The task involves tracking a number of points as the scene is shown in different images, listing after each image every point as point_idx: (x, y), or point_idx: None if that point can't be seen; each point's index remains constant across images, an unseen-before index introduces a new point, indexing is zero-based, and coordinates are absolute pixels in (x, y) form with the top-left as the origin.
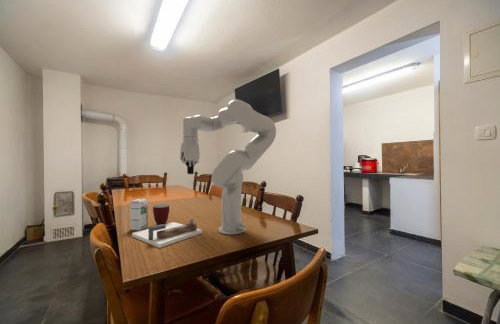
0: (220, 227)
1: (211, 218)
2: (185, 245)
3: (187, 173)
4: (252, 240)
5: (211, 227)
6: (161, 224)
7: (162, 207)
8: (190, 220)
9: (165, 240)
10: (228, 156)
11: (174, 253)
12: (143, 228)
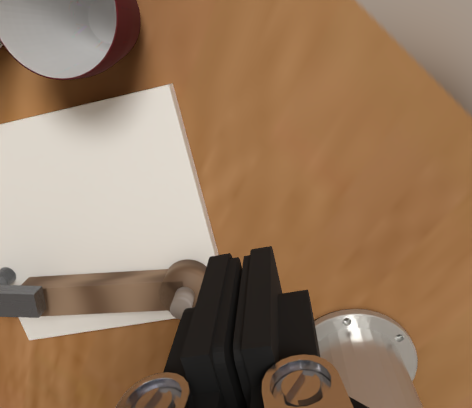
0: (323, 328)
1: (435, 109)
2: (119, 365)
3: (210, 257)
4: None
5: (313, 264)
6: (23, 297)
7: (50, 78)
8: (172, 313)
9: (55, 321)
10: None
11: (69, 393)
12: (2, 45)
